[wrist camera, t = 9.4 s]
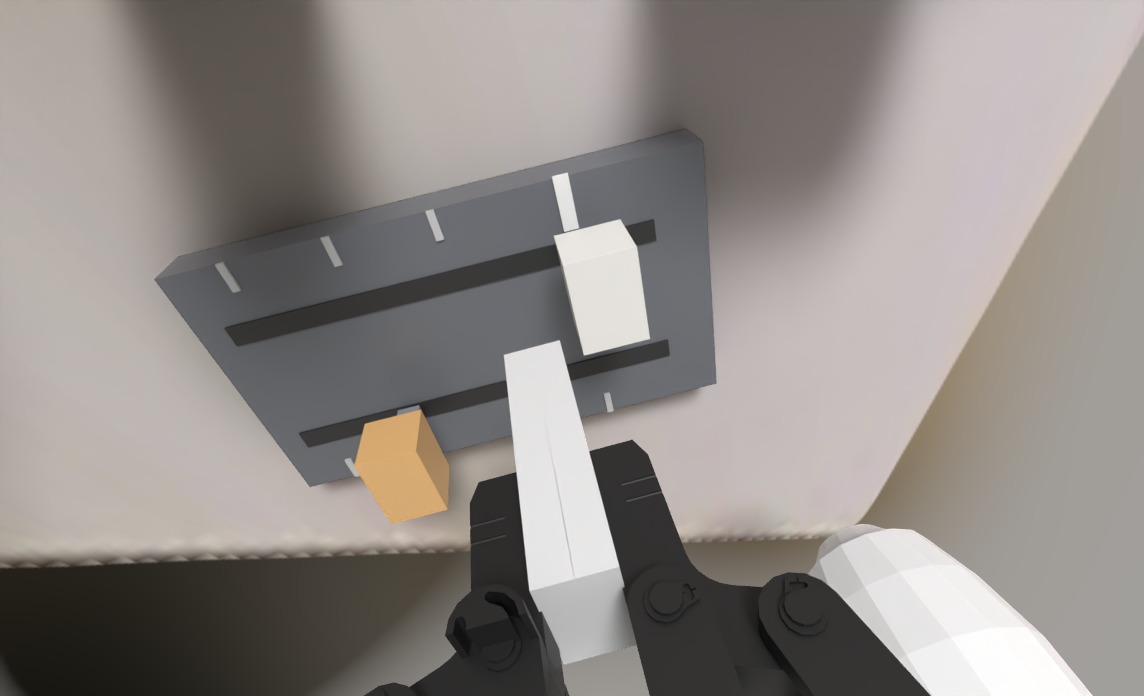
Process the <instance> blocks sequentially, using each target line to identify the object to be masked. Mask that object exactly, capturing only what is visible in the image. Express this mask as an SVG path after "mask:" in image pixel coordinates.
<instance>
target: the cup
mask: <svg viewBox="0 0 1144 696" xmlns="http://www.w3.org/2000/svg"><path fill="white" fill-rule="evenodd" d="M808 575H810V576H813V577H815V578H818V579H820V580H822V581H823V582H825V583H826V584H827V585H828V586H830V587H831V588H832V589H833V590H835V591H836V592H837V593H838V594H839V595H840V596H841V598H842V599H843V600H844V601H845V602H846V603H847V604H848V605H849V606H850V607H851V609H852V610H853V611H854V612H855V613H856V614H857V615H858V616H859V617H860V618H861V620H862V621H863V622H864V623H865V624H866V625H867V626H868V627H869V628H870V629H871V630H872V632H873V633H874V634H875V635H876V636H877V637H878V638H879V639H880V640H881V641H882V643H883V644H884V645H885V646H886V647H887V648H888V649H889V650H890V651H891V652H892V654H893V655H894V656H895V657H896V658H897V659H898V660H899V661H900V662H901V663H902V664H903V666H904V667H905V668H906V669H907V670H908V671H909V672H910V673H911V674H912V675H913V677H914V678H915V679H916V680H917V681H918V682H919V683H920V684H921V685H922V686H923V688H924V689H925V690H926V691H927V692H928V693H929V694H930V695H931V696H1092V694H1091V693H1090V692H1089V691H1088V690H1087V688H1086V687H1085V686H1084V685H1083V683H1082V682H1081V681H1080V680H1079V678H1078V677H1077V676H1076V675H1075V674H1074V672H1073V671H1072V670H1071V669H1070V667H1069V666H1068V665H1067V664H1066V663H1065V661H1064V660H1063V659H1062V658H1061V656H1060V655H1059V654H1058V653H1057V652H1056V650H1055V649H1054V648H1053V647H1052V645H1051V644H1050V643H1049V642H1048V641H1047V639H1046V638H1045V637H1044V636H1043V635H1042V634H1041V633H1040V632H1039V631H1038V630H1037V629H1035V628H1034V627H1033V626H1032V625H1031V624H1030V623H1029V622H1028V621H1027V620H1026V619H1024V618H1023V617H1022V616H1021V615H1020V614H1019V613H1018V612H1017V611H1016V610H1015V609H1013V608H1012V607H1011V606H1010V605H1009V604H1008V603H1007V602H1006V601H1005V600H1004V599H1003V598H1002V597H1000V596H999V595H998V594H997V593H996V592H995V591H994V590H993V589H992V588H991V587H990V586H988V585H987V584H986V583H985V582H984V581H983V580H982V579H981V578H980V577H978V575H976V574H975V573H974V572H972V571H971V570H969V569H968V568H967V567H965V566H964V565H962V564H961V563H960V562H958V561H957V560H956V559H954V558H953V557H951V556H950V555H949V554H947V553H946V552H944V551H943V550H942V549H940V548H939V547H938V546H936V545H935V544H933V543H932V542H930V541H929V540H928V539H926V538H925V537H923V536H922V535H920V534H918V533H917V532H915V531H913V530H906V529H905V530H904V529H887V530H886V529H883V528H880V527H877V526H873V525H866V524H859V525H854V526H849V527H847V528H844V529H842V530H840V531H838V532H836V533H834V534H833V535H831V536H830V537H829V538H827V539H826V540H825V541H824V543H823V544H822V545H821V546H820V548H819V552H818V556H817V561H816V565H815V566H814V567H813V568H812V570H811V571H810V572H809V573H808Z"/></svg>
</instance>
